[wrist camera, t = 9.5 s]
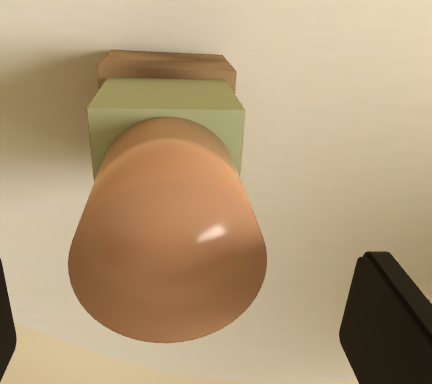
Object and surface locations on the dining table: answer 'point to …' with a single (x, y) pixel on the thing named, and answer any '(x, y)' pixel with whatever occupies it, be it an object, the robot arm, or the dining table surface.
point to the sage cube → (164, 110)
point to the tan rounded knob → (167, 236)
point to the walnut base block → (165, 66)
